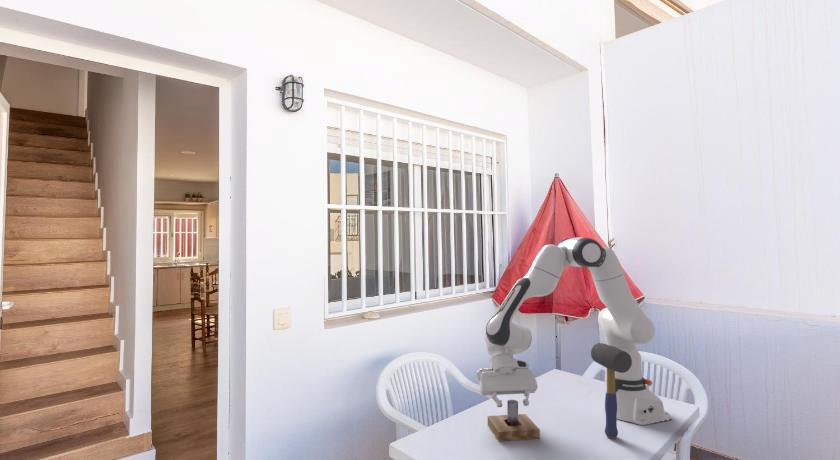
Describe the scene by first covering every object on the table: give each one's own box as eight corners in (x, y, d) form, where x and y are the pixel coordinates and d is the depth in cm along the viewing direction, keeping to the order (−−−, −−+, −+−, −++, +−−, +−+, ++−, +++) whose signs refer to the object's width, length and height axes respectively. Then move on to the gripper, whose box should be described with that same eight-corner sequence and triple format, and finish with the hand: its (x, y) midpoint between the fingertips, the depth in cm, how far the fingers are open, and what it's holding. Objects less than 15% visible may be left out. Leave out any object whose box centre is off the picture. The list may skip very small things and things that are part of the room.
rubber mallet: (635, 445, 129) (634, 350, 130) (615, 447, 128) (614, 351, 128) (608, 427, 142) (607, 340, 142) (589, 429, 140) (588, 342, 141)
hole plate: (525, 422, 145) (525, 413, 145) (539, 438, 133) (539, 429, 134) (487, 424, 144) (487, 416, 144) (498, 441, 132) (498, 431, 132)
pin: (516, 428, 141) (515, 399, 141) (519, 433, 137) (519, 403, 137) (505, 429, 140) (505, 399, 140) (509, 434, 136) (509, 404, 137)
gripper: (477, 364, 145) (485, 403, 135) (532, 362, 147) (544, 400, 137) (474, 373, 149) (481, 411, 139) (527, 370, 152) (538, 408, 142)
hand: (513, 405), depth 138 cm, fingers open, 8 cm apart
